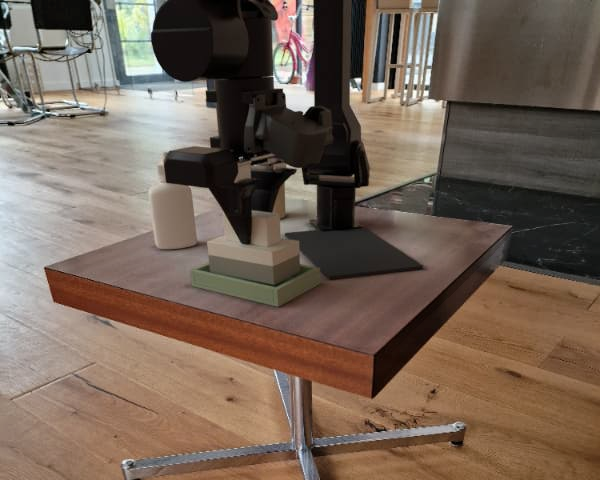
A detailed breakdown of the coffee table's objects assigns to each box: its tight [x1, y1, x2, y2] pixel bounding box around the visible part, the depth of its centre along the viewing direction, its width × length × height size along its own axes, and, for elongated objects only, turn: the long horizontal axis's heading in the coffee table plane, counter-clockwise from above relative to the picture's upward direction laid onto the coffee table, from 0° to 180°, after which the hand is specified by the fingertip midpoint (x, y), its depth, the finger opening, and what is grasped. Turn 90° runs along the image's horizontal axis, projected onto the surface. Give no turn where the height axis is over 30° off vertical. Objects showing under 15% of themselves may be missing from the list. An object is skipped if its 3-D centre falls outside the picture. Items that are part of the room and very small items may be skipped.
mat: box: [284, 226, 424, 280], centre depth 75 cm, size 20×12×1 cm, turn 16°
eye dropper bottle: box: [147, 151, 198, 250], centre depth 76 cm, size 4×6×12 cm
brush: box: [206, 210, 301, 285], centre depth 62 cm, size 9×5×6 cm, turn 56°
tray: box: [189, 261, 321, 308], centre depth 64 cm, size 12×8×2 cm
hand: (253, 241), depth 62 cm, fingers closed on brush, 2 cm apart
